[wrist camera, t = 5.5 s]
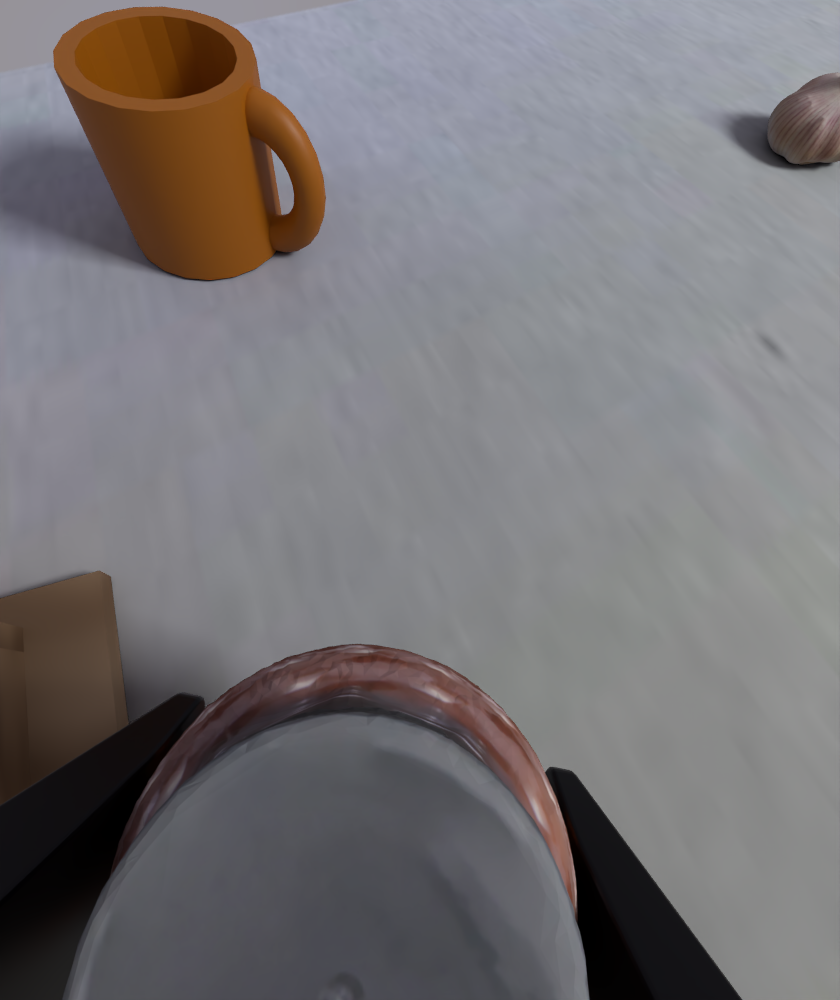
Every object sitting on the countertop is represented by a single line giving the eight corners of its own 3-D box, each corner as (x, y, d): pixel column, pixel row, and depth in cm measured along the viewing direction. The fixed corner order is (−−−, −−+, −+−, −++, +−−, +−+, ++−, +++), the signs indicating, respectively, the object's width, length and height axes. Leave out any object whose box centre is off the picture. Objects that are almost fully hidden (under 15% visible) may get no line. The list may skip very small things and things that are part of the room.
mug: (274, 327, 28) (236, 168, 20) (105, 244, 30) (3, 62, 21) (354, 236, 32) (349, 69, 24) (199, 165, 33) (143, -16, 25)
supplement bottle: (346, 638, 16) (303, 480, 5) (504, 760, 15) (835, 863, 4) (205, 822, 13) (-370, 1188, 3) (381, 981, 12) (455, 2389, 2)
